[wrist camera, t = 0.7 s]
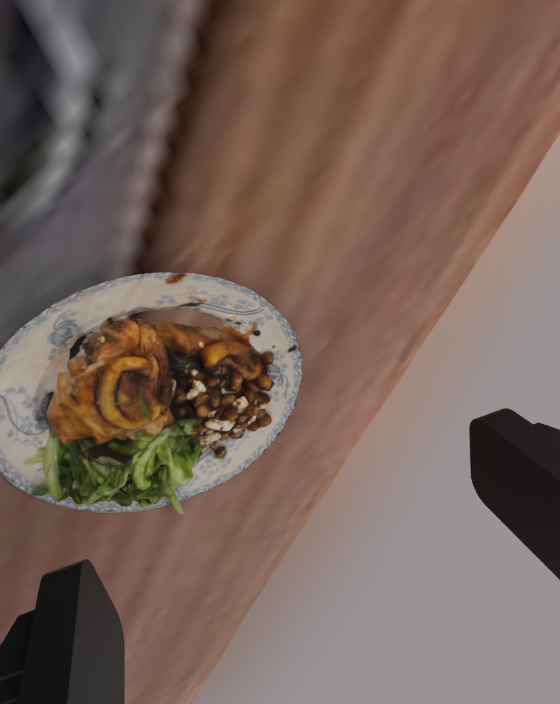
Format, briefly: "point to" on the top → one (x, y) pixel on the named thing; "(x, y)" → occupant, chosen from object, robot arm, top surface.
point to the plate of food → (144, 393)
